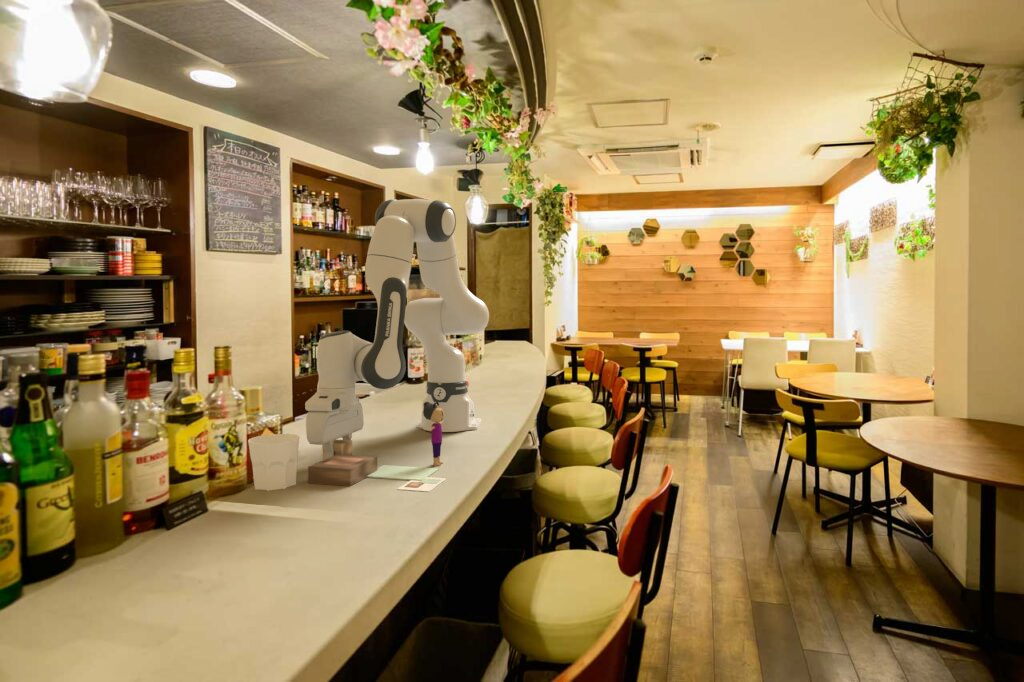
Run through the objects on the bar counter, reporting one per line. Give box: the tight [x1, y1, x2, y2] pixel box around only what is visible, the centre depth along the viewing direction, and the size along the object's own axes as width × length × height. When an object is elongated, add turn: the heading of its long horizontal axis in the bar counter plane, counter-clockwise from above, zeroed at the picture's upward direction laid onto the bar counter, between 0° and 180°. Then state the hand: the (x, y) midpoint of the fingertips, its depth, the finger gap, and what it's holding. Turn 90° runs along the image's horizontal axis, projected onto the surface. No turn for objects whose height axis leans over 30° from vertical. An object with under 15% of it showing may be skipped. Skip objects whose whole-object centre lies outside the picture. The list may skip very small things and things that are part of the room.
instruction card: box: [397, 476, 447, 493], centre depth 129 cm, size 10×7×1 cm
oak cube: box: [322, 439, 353, 461], centre depth 147 cm, size 5×5×5 cm
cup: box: [247, 433, 300, 492], centre depth 128 cm, size 10×10×10 cm
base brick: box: [307, 454, 378, 487], centre depth 134 cm, size 12×10×4 cm
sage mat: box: [367, 464, 440, 481], centre depth 137 cm, size 10×14×1 cm
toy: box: [423, 402, 444, 467], centre depth 145 cm, size 10×6×15 cm, turn 168°
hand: (337, 455), depth 147 cm, fingers closed on oak cube, 5 cm apart
